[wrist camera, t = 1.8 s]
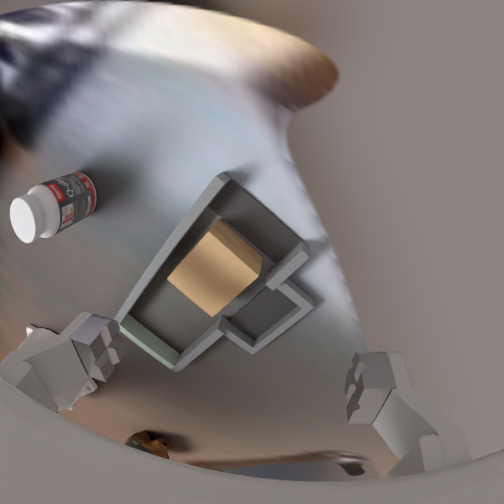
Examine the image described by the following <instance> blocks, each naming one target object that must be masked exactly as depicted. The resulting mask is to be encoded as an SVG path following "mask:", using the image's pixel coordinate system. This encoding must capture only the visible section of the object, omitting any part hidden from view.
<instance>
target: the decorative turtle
mask: <svg viewBox="0 0 504 504" xmlns="http://www.w3.org/2000/svg"><path fill="white" fill-rule="evenodd" d="M125 445H127V446H130V447H133V448H135V449H138V450H141V451H144V452H147V453H150V454H153V455H156V456H159V457H162V458H166V459H169V456H168V453H167V450H168V449H169V443H168V441H166V440H165V439H163V438H159V439H155V440H151V439H150V436H149V434H148V432H146V431H142V432H140V433H136V434H133V435H132V436H131V437H130V438H129V439H127V440H126V443H125Z"/></svg>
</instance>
